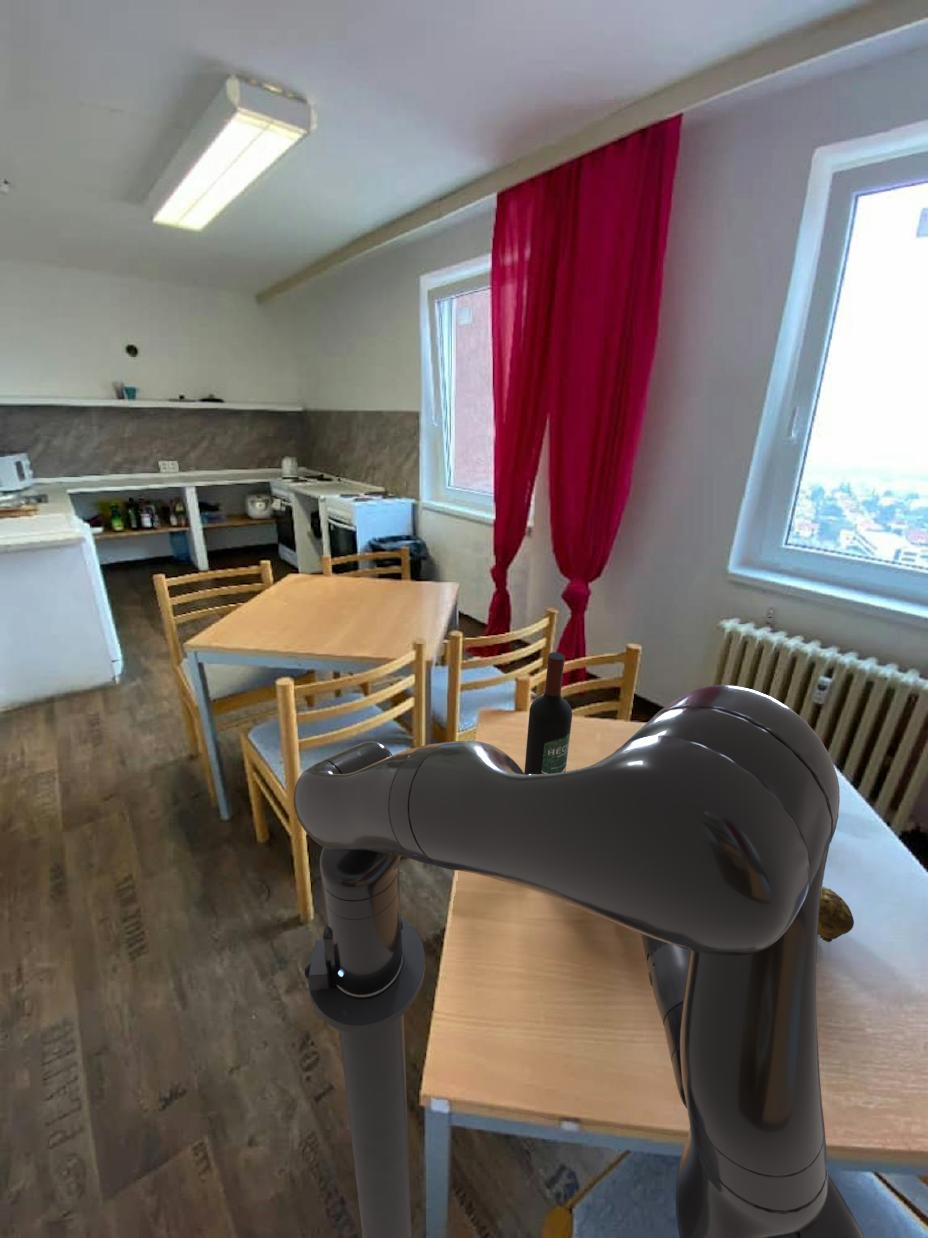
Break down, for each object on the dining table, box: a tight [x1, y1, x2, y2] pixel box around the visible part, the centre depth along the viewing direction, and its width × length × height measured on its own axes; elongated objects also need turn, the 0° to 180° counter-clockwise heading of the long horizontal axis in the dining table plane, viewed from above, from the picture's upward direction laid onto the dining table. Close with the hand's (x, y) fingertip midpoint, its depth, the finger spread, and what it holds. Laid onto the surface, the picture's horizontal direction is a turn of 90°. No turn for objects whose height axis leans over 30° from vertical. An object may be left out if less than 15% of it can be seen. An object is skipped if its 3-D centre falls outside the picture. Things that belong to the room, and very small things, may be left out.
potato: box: [818, 885, 855, 943], centre depth 75 cm, size 8×13×8 cm, turn 10°
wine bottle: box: [523, 651, 573, 775], centre depth 94 cm, size 8×8×30 cm
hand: (650, 828), depth 63 cm, fingers closed
